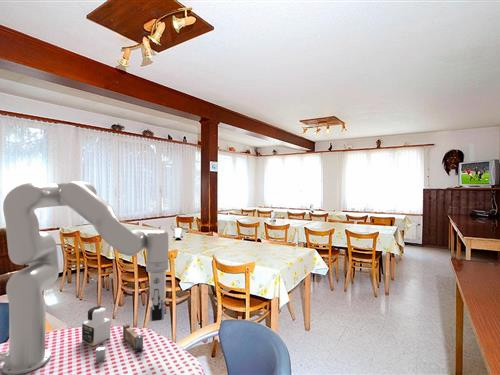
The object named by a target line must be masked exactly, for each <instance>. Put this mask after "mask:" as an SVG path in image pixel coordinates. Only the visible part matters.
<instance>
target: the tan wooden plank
mask: <svg viewBox="0 0 500 375" xmlns="http://www.w3.org/2000/svg"><path fill="white" fill-rule="evenodd" d="M138 335H139V334H138V333H137V332H136V331H135V330H134V329H133V328H131V325H130V324H129V323H126V324H124V325H123V326H122V338H123V339H124V340H126V341H127V342H128V343H129V344H130V345H131V346H132V347H133V348H135V349H136V336H138Z"/></svg>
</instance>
